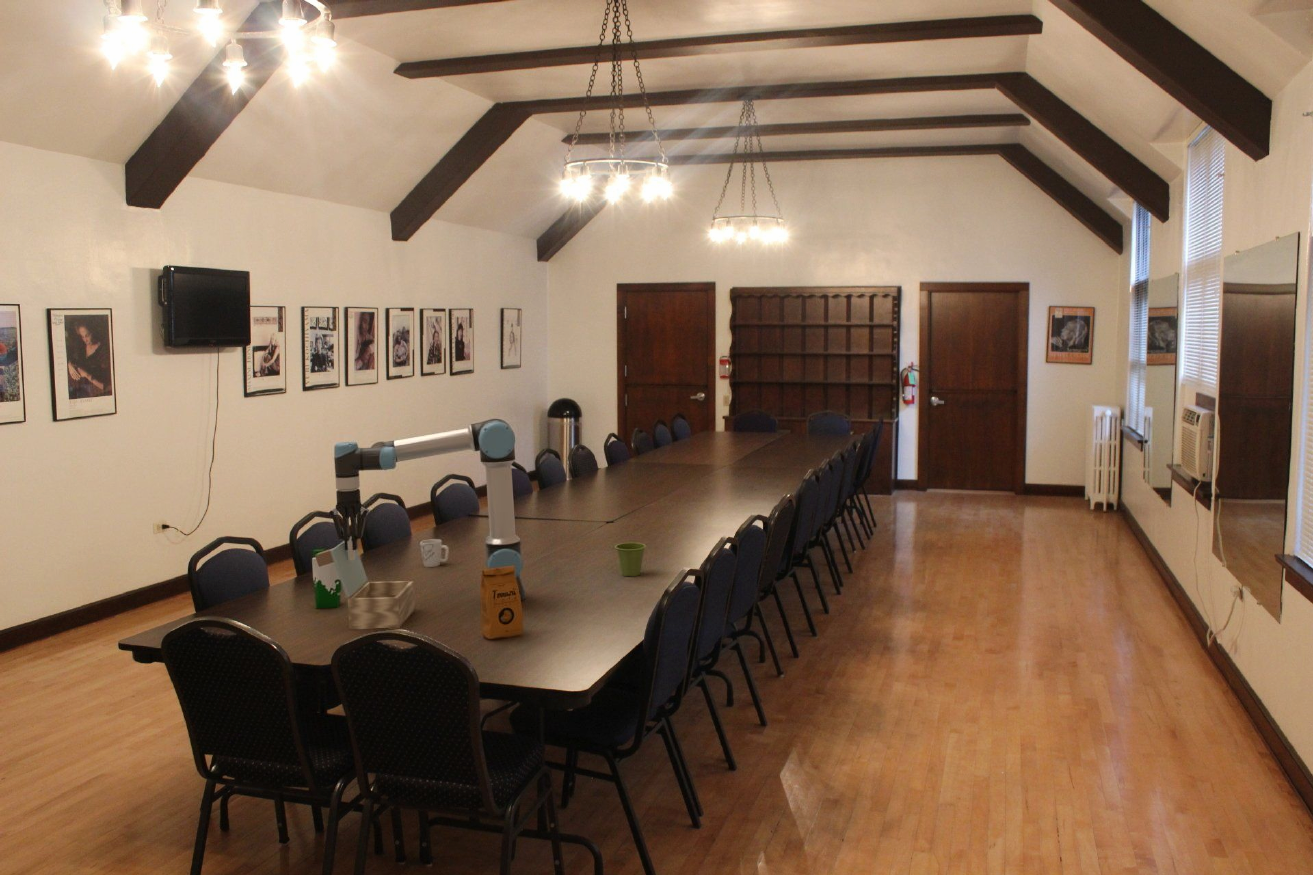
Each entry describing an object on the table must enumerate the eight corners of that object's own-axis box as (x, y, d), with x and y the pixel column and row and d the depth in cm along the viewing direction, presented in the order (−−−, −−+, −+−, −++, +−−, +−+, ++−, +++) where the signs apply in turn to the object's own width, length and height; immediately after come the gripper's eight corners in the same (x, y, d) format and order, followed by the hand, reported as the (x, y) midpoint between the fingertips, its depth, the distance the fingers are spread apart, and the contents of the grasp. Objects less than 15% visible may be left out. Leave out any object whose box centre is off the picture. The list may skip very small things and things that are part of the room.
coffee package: (526, 637, 326) (523, 568, 323) (486, 642, 321) (484, 572, 318) (517, 628, 335) (515, 561, 332) (479, 634, 330) (476, 565, 327)
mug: (452, 562, 428) (451, 538, 427) (446, 567, 419) (445, 543, 418) (425, 562, 429) (424, 538, 428) (418, 567, 421) (417, 543, 419)
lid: (352, 536, 356) (326, 544, 357) (332, 549, 335) (305, 558, 336) (367, 580, 358) (341, 588, 358) (349, 596, 337) (321, 604, 338)
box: (414, 609, 360) (413, 581, 358) (398, 628, 338) (397, 598, 337) (368, 610, 360) (366, 581, 359) (349, 629, 338) (347, 599, 337)
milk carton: (317, 603, 370) (313, 547, 368) (343, 601, 372) (340, 546, 370) (313, 609, 362) (309, 553, 360) (340, 608, 363) (337, 551, 361)
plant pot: (610, 576, 400) (609, 547, 399) (625, 569, 411) (624, 541, 409) (637, 579, 395) (636, 550, 393) (651, 572, 405) (651, 544, 404)
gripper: (371, 487, 347) (374, 556, 350) (331, 487, 347) (335, 557, 350) (364, 490, 340) (368, 561, 343) (324, 491, 340) (328, 562, 343)
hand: (351, 559), depth 346 cm, fingers closed
